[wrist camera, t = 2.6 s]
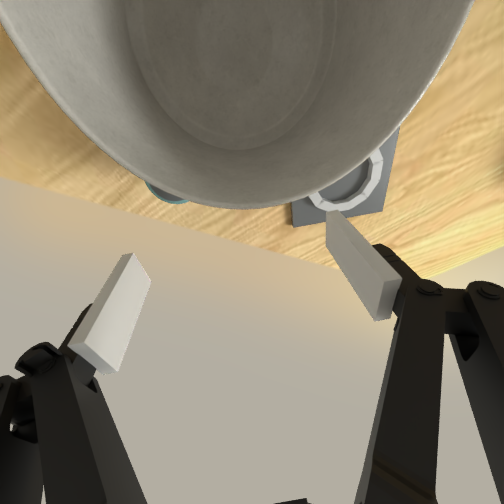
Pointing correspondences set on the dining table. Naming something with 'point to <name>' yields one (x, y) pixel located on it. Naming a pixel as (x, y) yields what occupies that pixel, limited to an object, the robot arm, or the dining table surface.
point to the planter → (236, 85)
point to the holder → (351, 190)
